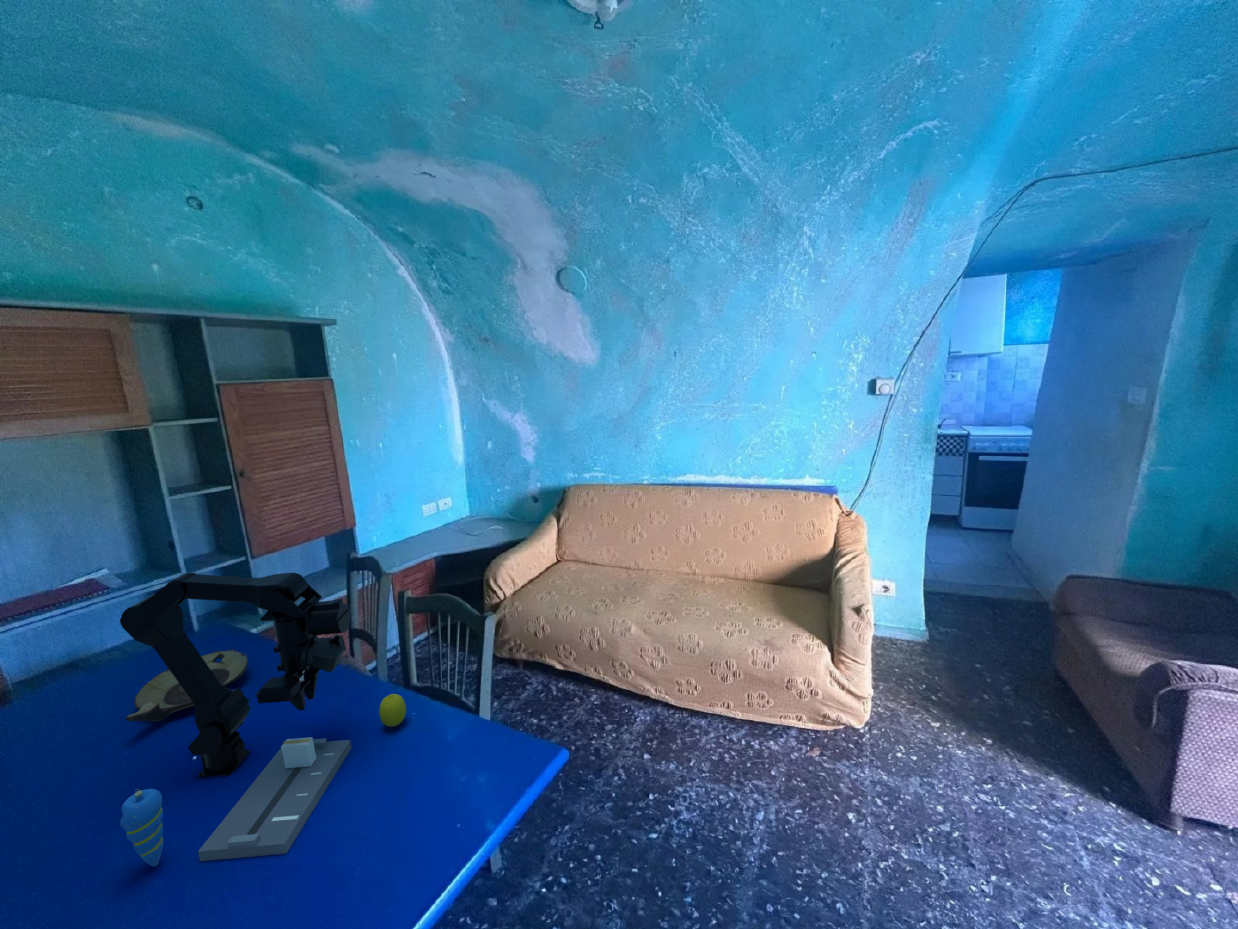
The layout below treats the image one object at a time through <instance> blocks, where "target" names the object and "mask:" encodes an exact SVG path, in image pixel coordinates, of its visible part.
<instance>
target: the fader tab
mask: <svg viewBox="0 0 1238 929" xmlns="http://www.w3.org/2000/svg"><path fill="white" fill-rule="evenodd" d="M313 739H314V738H313V737H298V738H287V739H286V740H285V741H283V743H282V745H281V746H280V749H281V748H282V753H283V758H284V763H285V768H295V767H307V766H312V764H313V763H314V761H315V760H316V754H315V748H314V743H313Z"/></svg>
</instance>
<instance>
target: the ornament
mask: <svg viewBox="0 0 1238 929" xmlns="http://www.w3.org/2000/svg"><path fill="white" fill-rule="evenodd" d="M134 792H135V793H134V794H132V795H131V796H129V797H128V798H127V799H126V800H125V801H124V802H123V804H122V806H121V814H122V817H121V819H120V827H121V828H122V829H123V830H124V831H126V833H125V835H126V836H125V837H126V839H127V840H128V841H129V842H131V843H132V844H133V849H134V851H135V852H136V853H137V854H138V855H139V856H140V858H141V860H142V861H143V862H144V863H146V864H148V865H149V866H151V867H152V868H155V867H157V866H158V865H159V863H160V858H161V855H162V852H163V848H164V844H165V843H164V842H165V841H164V840H165V839H164V836H163V832H164V824H163V822H162V821H163V819H164V818H163V817H164V809H163V807H162V805H163V795H162V793H161V791H160V790H157V789H156V788H146V789H143V790H138V791H137V789H135V790H134Z"/></svg>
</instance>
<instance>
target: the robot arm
mask: <svg viewBox="0 0 1238 929" xmlns="http://www.w3.org/2000/svg"><path fill="white" fill-rule="evenodd" d="M302 598H303V599H304V600H303V601H301V602H300V603H299V604H298V605H297V604H296V603H297V602H298V601H299V600H300V599H302ZM322 598H323V597H322V595H321V594H319V592H317V590H315V589H314V588H313V587H312V586H311V585H310V584H308V582H307V581H306V579H305V578H304V577H303V576H302V575H301V574H300V573H298V572H297V573H296V572H282V573H275V574H271V575H266V576H262V577H245V576H232V575H231V576H230V575H229V576H228V575H227V576H226V575H215V574H214V575H212V574H199V573H198V574H197V573H196V572H184V573H183V574H181V575H179V576H177V577H176V578H173V579H171V580H170V581H168V582H167V583H166V584H165V585H164V586H163V587H162V588H161V589H159V591H157V592H155V593H152V594H151V595H149V596H148V597H145V598H144V599H142V600H139V601H138V602H137V603H134V604H133V605H131V606H129V607H128V608H126V609H124V611H123V612H122V614H121V618H119V624H120V626H121V628H122V629H123V630H124V631H126V633H127V634H128V635H129V636H130V637H131V638H133V640H134V641H136V642H139V643H142V644H144V645H147V646H149V647H152V648H153V649H154V651H155V652H156V653H157V654H158V656H159V658H160V659H161V660H162V661H163V663H164V664H165V666H166V667H167V668H168V669H169V670H170V671H171V673H172V674H173V675H174V677H175V678H176V680H177V681H178V682H179V684H180V685H181V687H182V688H183V689H184V691H185V692H186V694H187V695H188V696H189V698H190V699H191V700H192V702H193V703H194V724H195V725H196V728H197V730H198V732H199V734H198V735H197V736H196V737H195V738H194V739H193V740H192V742H191V743H190V744H189V745H188V747H187V749H188V750H189V752H190V753H191V754H192V755H193V756H200V760H201V763H202V767H203V769H202V770H201V771H200V772H199V773H198V774H197V777H198V778H211V777H213V778H214V777H221V776H223V777H224V776H230V775H231V774H233V773H234V771H235V770H236V769H237V768H238V767H239V766H240V765H241V763H243V761H244V760H245V759H246V758H247V757H248V755H249V754H250V753H251V751H250V749H246V747H245V742H244V741H245V740H244V739H242V736H241V732H240V731H238V729H239V728H240V727H241V726H243V724H244V722H245V719H246V718H247V717H248V716H249V713H250V710H251V707H250V705H249V704H250V702H251V700H250V699H249V698H247V697H246V696H245V695H244V692H243V691H242V689H241V688H240V687H237V688H235V689H234V690H233V689H229V688H226V687H225V686H224V687H222V685H221V684H220V683H219V681H218V680H217V678H216V677H215V675H214V674H213V673H212V671H211V670H210V668H209V667H208V665H207V664H206V662H205V661H204V660H203V658H202V657H201V656H202V654H200V652H199V651H198V649H197V648H196V647H195V645H194V644H193V643H192V641H191V639H190V638H189V636H188V635H187V634H186V632H185V630H184V612H183V610H182V608H181V606H180V604H182V603H183V602H184V601H185V600H200V601H201V600H202V601H219V602H235V603H237V602H239V603H248V604H252V605H254V606H255V607H257V608H258V609H261V610H266V612H265V613H264V615H263V616H262V617H260V621H261V622H268V621H269V622H270V621H272V622H273V625H274V631H275V636H276V642H277V644H276V645H275V646H274V647H273V648H272V649H273V653H274V654H275V653H276V654H277V653H278V654H279V656H280V661H281V662H280V663H279V664H278V665H277V666H276V669H277V670H276V671H277V672H284V673H283V675H281V676H280V677H278V676H277V677H270V679H269V680H267V681H266V682H265V683H264V684H263V685H261V687H260V689H259V690H258V691H257V692H255V694H256V698H257V703H258V704H270V703H271V704H272V703H285V702H289V703H290V704H291V705H292V706H294V708H296V709H297V710H298V711H305V709H306V699H307V700H309V701H310V700H314V698H315V694H316V689H317V683H318V677H319V672H320V670H322V671H324V672H327V673H331V672H333V671H335V669H336V668H337V666H338V665H339V664H340V663H341V662H342V659H343V656H344V655H343V654H344V652H346V650H347V647H346V643H345V639H344V636H343V635H340V634H344V633H347V631H348V629H349V627H350V623H351V615H352V614H351V610H350V608H349V607H348V605H347V604H346V603H344V599H342V598H336V599H332V600H324V601H322ZM323 635H324V636H325V635H334V636H333V637H331V636H329V637H318V636H323ZM237 731H238V732H237Z"/></svg>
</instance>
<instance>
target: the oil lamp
mask: <svg viewBox="0 0 1238 929" xmlns="http://www.w3.org/2000/svg"><path fill="white" fill-rule="evenodd" d="M201 657H202V658H203V660H204V661H205V662H206V664H207V665H208V667H209V668H210V670H211V671H212V673H213V674H214V675H215V677H216V678H217V680H218V681H219V683H220V684H221V685H222V687H224V688H225V687H227V686H229V685H230V684H231V683H233V682H236V681H237V680H238V679H239V678H241V677H242V676H243V675H244V673H245V672H246V671H247V669H248V665H249V659H248V656H247V655H246V654H245V653H243V652H241V651H238V650H235V649H233V648H232V649H229V650H224V651H223V650H217V651H213V652H211V653H208V654H207V653H206V654H204V655H201ZM218 659H220V661H218V662H216V661H217V660H218ZM133 703H134V707H135V709H137V712H135V713H131V714H128V715H126V717H125V719H124V720H125V721H127V722H160V721H163V720H165V719H167V718H168V716H170V715H171V714H173V713H175V712H179V711H183V710H184V709H188V708H191V707H195V705H194V703H193V702H192V700H191V699H190V698H189V696H188V695H187V694H186V692H185V691H184V689H183V688H182V687H181V685H180V684H179V682H178V681H177V680H176V678H175V677H174V675H173V674H172V673H171V671H170V670H169V668H168V669H166V670H164V671H163V672H161V673H159V674H157V675H156V676H154V677H153V678H152V679H151V680H148V681H147V682H146V683H145V684H144V686H142V688H140V690H139V691H138V692H137V694H136V696H135V697H134V702H133Z"/></svg>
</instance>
